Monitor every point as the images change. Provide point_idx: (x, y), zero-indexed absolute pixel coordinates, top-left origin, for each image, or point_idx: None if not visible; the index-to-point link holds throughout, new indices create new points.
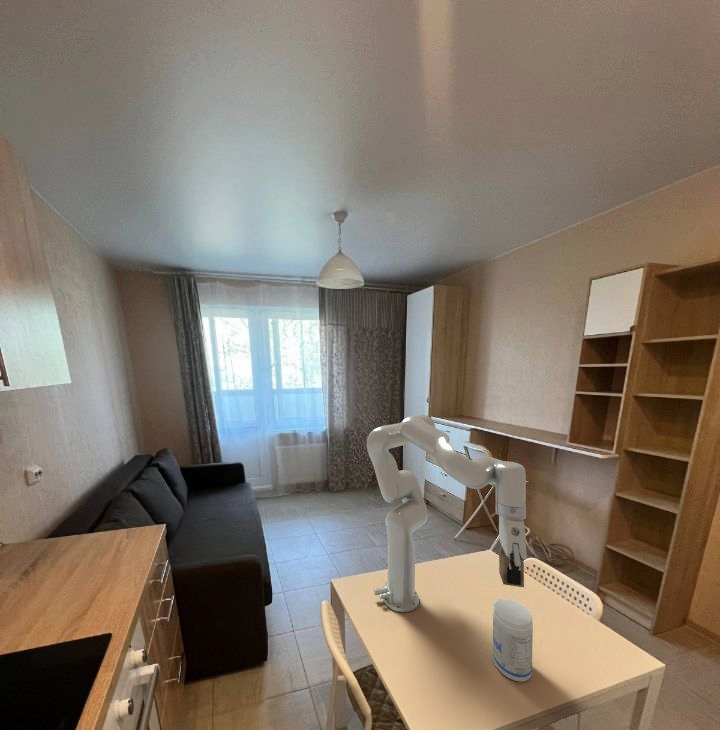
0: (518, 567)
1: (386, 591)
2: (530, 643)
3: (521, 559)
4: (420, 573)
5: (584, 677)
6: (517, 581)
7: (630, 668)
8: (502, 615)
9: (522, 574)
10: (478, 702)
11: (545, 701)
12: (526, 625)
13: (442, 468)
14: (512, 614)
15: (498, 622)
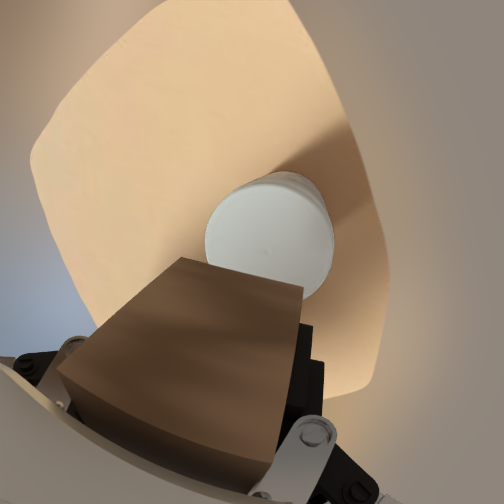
0: (376, 491)
1: None
2: (320, 198)
3: (258, 469)
4: (92, 306)
5: (298, 66)
6: (323, 368)
7: None
8: None
9: (294, 351)
10: (356, 304)
11: (359, 179)
12: (331, 230)
13: None
14: (286, 260)
15: None
